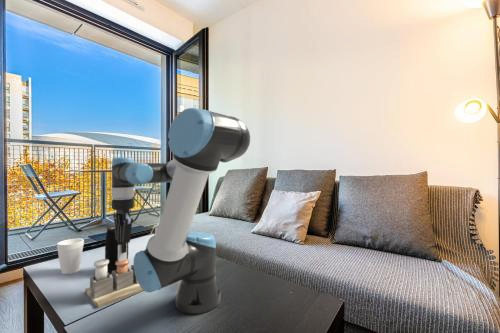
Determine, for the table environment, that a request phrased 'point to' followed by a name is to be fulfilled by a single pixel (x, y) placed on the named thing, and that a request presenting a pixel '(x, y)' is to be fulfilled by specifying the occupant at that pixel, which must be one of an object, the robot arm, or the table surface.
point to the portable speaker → (111, 249)
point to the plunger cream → (101, 269)
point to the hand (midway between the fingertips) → (122, 260)
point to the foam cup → (70, 255)
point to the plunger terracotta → (122, 266)
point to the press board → (113, 287)
